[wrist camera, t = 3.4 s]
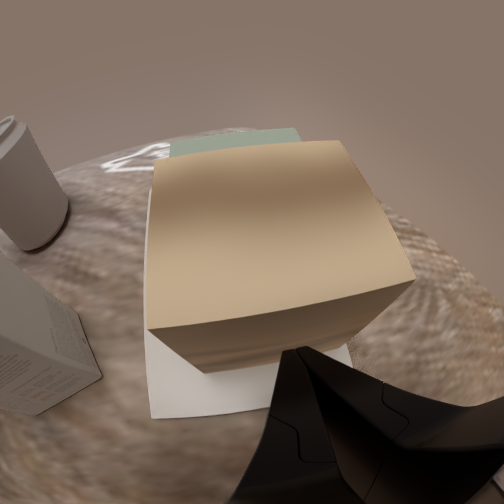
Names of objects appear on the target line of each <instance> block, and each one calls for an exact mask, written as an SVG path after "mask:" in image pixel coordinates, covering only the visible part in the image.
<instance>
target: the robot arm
mask: <svg viewBox="0 0 504 504" xmlns="http://www.w3.org/2000/svg"><path fill="white" fill-rule="evenodd" d="M224 504H504V396H503V397H500V398H498V399H495V400H492V401H490V402H487V403H484V404H481V405H477V406H471V407H463V406H456V405H452V404H448V403H444V402H441V401H437V400H433V399H429V398H426V397H422V396H419V395H416V394H413V393H410V392H407V391H404V390H402V389H399V388H397V387H394V386H392V385H390V384H387V383H384V384H383V381H380V380H378V379H376V378H374V377H371V376H369V375H367V374H365V373H363V372H361V371H358V370H356V369H354V368H352V367H350V366H348V365H346V364H344V363H341V362H339V361H337V360H335V359H333V358H331V357H329V356H327V355H325V354H323V353H321V352H319V351H317V350H315V349H313V348H311V347H309V346H302V347H298V348H296V349H288V350H284V351H282V353H281V358H280V363H279V367H278V372H277V377H276V381H275V386H274V390H273V394H272V399H271V403H270V407H269V412H268V416H267V419H266V423H265V427H264V430H263V433H262V437H261V439H260V442H259V444H258V447H257V449H256V451H255V453H254V455H253V458H252V460H251V462H250V464H249V466H248V468H247V470H246V471H245V473H244V475H243V477H242V479H241V481H240V483H239V485H238V486H237V488H236V490H235V491H234V493H233V494H232V496H231V497H230V498H229V499H228V500H227V501H226V502H225V503H224Z"/></svg>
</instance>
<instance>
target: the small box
mask: <svg viewBox="0 0 504 504" xmlns="http://www.w3.org/2000/svg"><path fill="white" fill-rule="evenodd" d="M101 377H102V375H101V373H100V370H99V368H98V366H97V364H96V361H95V359H94V357H93V354H92V352H91V349H90V347H89V345H88V342H87V339H86V337H85V334H84V331H83V329H82V326H81V323H80V320H79V317H78V314H77V313H76V312H75V311H74V310H72V309H71V308H69V307H68V306H67V305H65V304H64V303H62V302H61V301H60V300H58V299H57V298H56V297H54V296H53V295H52V294H50V293H49V292H48V291H46V290H45V289H44V288H43V287H41V286H40V285H39V284H38V283H36V282H35V281H34V280H33V279H31V278H30V277H29V276H28V275H27V274H25V273H24V272H23V271H22V270H21V269H20V268H19V267H17V266H16V265H15V264H14V263H13V262H12V261H11V260H10V259H9V258H8V257H6V256H5V255H4V254H3V253H2V252H1V251H0V409H1V410H5V411H10V412H16V413H21V414H28V415H34V416H36V415H38V414H40V413H41V412H43V411H45V410H47V409H48V408H50V407H52V406H54V405H55V404H57V403H59V402H61V401H62V400H64V399H66V398H68V397H69V396H71V395H73V394H74V393H76V392H78V391H80V390H81V389H83V388H85V387H86V386H88V385H90V384H91V383H93V382H95V381H96V380H98V379H100V378H101Z"/></svg>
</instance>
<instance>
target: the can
mask: <svg viewBox="0 0 504 504" xmlns="http://www.w3.org/2000/svg"><path fill="white" fill-rule="evenodd" d="M67 208H68V200H67V196H66V195H65V193H64V192H63V190H62V188H61V187H60V185H59V184H58V182H57V180H56V179H55V177H54V175H53V173H52V172H51V170H50V168H49V167H48V165H47V163H46V161H45V159H44V158H43V156H42V154H41V152H40V150H39V148H38V146H37V145H36V143H35V141H34V139H33V137H32V135H31V133H30V131H29V129H28V127H27V125H26V124H25V123H21V122H16V121H15V116H13V115H12V116H9V117H7V118H5V119H3V120H2V121H0V228H1V229H2V230H3V231H4V232H5V233H6V235H7V236H8V237H9V238H10V239H11V240H12V241H13V242H14V243H15V244H16V245H17V246H18V247H19V248H20V249H22V250H24V251H25V250H32V249H35V248H39V247H42V246H44V245H45V244H47V243H48V242H49V241H51V240H52V238H53V237H54V236H55V235H56V234H57V233H58V231H59V230H60V228H61V227H62V225H63V222H64V220H65V215H66V213H67Z"/></svg>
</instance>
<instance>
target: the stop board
mask: <svg viewBox="0 0 504 504" xmlns="http://www.w3.org/2000/svg"><path fill="white" fill-rule="evenodd" d="M289 142H302V140H301V139H300V137H299V135H298V133H297V132H296V130H295V128H282V129H267V130H255V131H245V132H235V133H227V134H219V135H212V136H205V137H199V138H192V139H187V140H181V141H175V142H171V144H170V156H169V158H171V157H176V156H182V155H187V154H193V153H200V152H206V151H213V150H220V149H227V148H235V147H244V146H253V145H264V144H275V143H289Z"/></svg>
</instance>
